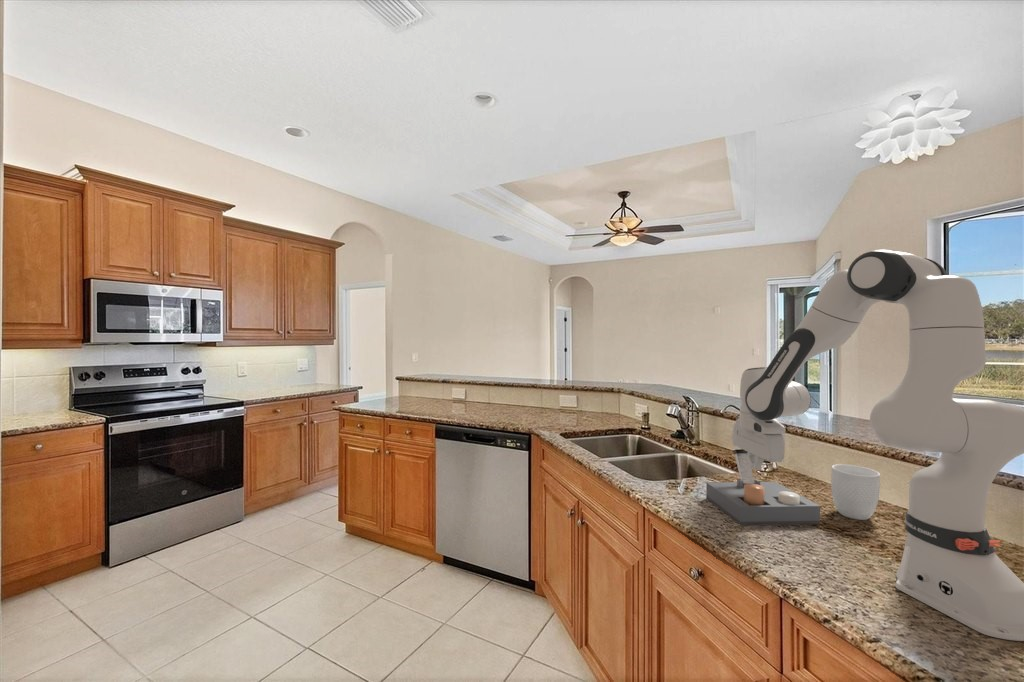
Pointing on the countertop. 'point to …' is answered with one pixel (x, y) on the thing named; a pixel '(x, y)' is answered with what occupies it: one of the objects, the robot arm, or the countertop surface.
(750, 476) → the lever
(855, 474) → the mug
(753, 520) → the console
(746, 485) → the terracotta button
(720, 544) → the countertop surface
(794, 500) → the white button
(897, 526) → the countertop surface
